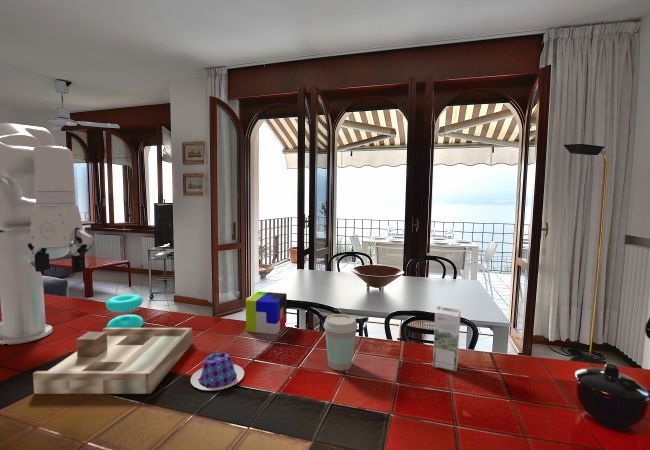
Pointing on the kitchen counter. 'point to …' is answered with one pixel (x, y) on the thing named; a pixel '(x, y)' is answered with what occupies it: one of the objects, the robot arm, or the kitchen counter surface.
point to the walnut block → (91, 344)
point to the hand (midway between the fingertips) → (60, 271)
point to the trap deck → (118, 363)
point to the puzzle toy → (266, 312)
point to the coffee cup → (340, 340)
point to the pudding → (217, 372)
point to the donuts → (122, 305)
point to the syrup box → (446, 338)
